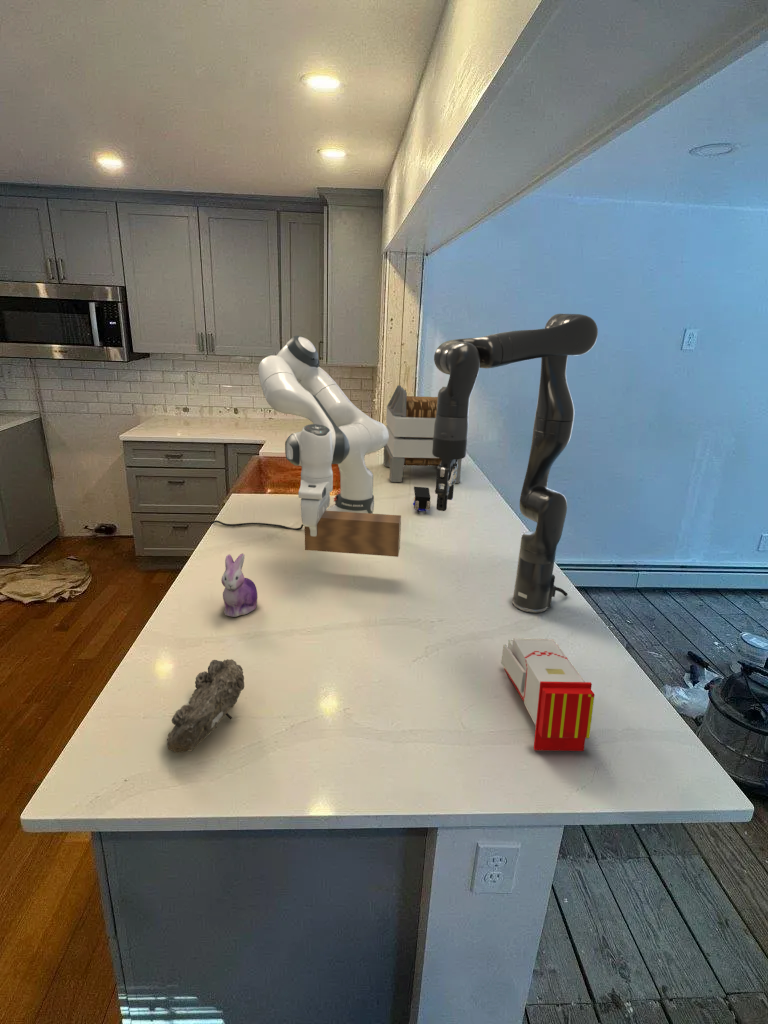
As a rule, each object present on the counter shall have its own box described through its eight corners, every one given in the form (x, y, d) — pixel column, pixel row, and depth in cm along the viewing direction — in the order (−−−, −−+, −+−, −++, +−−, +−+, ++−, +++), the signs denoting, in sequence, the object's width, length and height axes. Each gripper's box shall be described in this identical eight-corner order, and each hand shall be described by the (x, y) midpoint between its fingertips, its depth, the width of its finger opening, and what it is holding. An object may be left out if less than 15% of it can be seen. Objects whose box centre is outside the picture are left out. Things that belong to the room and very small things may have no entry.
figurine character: (431, 519, 219) (427, 502, 232) (432, 501, 216) (429, 485, 229) (413, 518, 219) (411, 501, 232) (415, 500, 215) (412, 484, 229)
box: (304, 550, 161) (304, 516, 157) (309, 541, 167) (309, 509, 163) (398, 556, 158) (399, 523, 155) (399, 548, 164) (401, 515, 161)
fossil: (192, 660, 117) (244, 628, 112) (224, 691, 120) (276, 661, 115) (142, 746, 98) (202, 712, 93) (182, 779, 101) (242, 748, 96)
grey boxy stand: (382, 463, 289) (386, 382, 275) (445, 464, 293) (451, 384, 279) (390, 482, 257) (394, 392, 243) (460, 483, 261) (468, 394, 247)
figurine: (226, 621, 140) (223, 566, 135) (217, 603, 148) (214, 550, 143) (264, 614, 144) (262, 560, 139) (253, 596, 153) (251, 545, 148)
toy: (549, 621, 128) (604, 690, 99) (544, 676, 131) (595, 758, 101) (496, 620, 128) (535, 688, 98) (492, 675, 130) (528, 757, 101)
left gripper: (314, 473, 167) (314, 517, 172) (296, 494, 148) (297, 543, 153) (335, 474, 167) (334, 519, 171) (320, 495, 147) (320, 544, 152)
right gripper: (462, 443, 118) (455, 516, 123) (471, 431, 131) (465, 497, 136) (427, 440, 120) (422, 512, 125) (439, 427, 133) (434, 493, 138)
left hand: (317, 530), depth 162 cm, fingers closed on box, 6 cm apart
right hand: (444, 504), depth 131 cm, fingers open, 8 cm apart
